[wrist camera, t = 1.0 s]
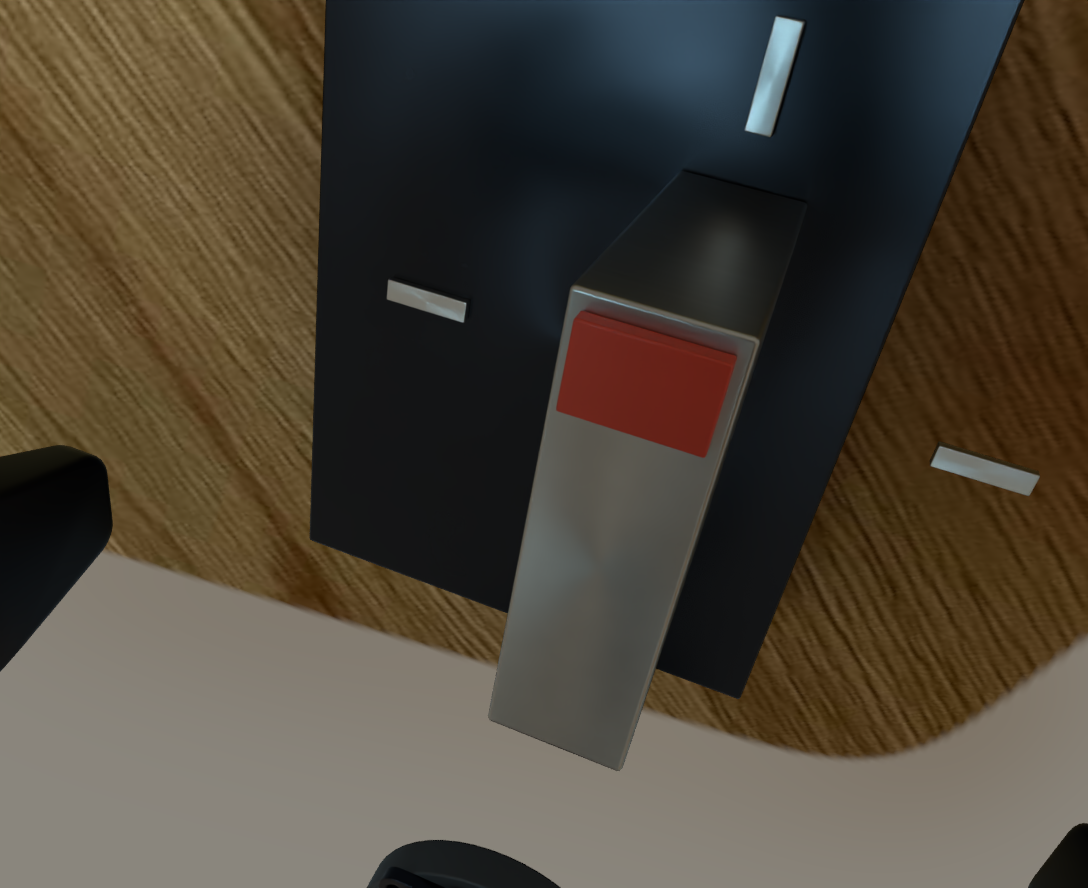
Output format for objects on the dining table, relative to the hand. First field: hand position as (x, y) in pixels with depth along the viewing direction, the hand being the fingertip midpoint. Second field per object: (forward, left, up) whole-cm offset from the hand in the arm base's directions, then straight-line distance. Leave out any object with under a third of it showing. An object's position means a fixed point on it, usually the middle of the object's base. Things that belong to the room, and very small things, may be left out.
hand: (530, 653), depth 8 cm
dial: (0, 0, -7) cm, 7 cm away
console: (0, +1, -10) cm, 10 cm away
